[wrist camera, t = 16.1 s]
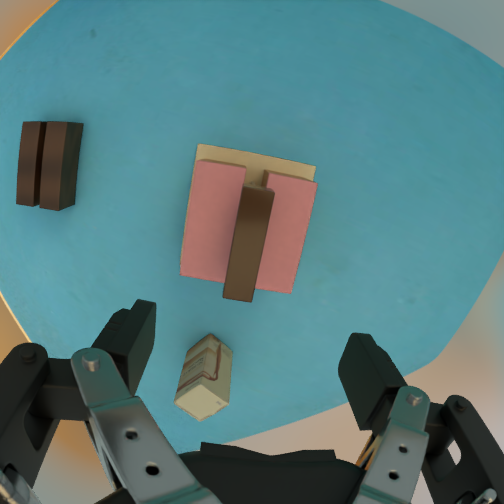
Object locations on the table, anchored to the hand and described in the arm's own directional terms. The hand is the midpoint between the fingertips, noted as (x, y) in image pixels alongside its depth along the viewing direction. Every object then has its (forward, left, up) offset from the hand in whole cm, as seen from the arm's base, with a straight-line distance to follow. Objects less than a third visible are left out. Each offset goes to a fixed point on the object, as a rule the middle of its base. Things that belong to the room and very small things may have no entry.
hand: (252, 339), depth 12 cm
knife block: (-3, -24, -24) cm, 34 cm away
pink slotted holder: (0, 0, -24) cm, 24 cm away
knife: (0, 0, -24) cm, 24 cm away
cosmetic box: (+19, -2, -24) cm, 31 cm away
